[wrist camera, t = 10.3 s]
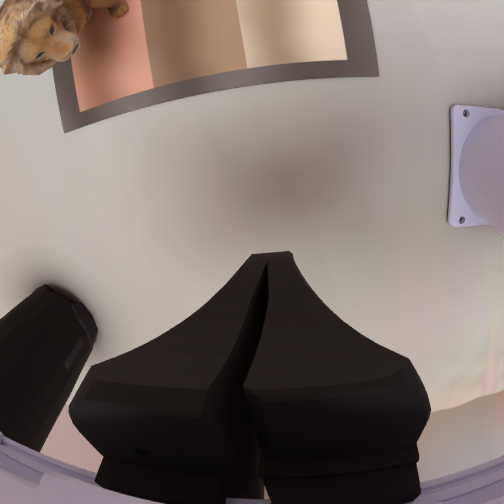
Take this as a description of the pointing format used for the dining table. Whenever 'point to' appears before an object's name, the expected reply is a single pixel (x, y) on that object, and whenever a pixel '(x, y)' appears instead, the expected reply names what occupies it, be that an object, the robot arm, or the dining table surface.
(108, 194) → the dining table surface
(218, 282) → the dining table surface
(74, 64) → the board
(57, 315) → the portable speaker
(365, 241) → the dining table surface
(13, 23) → the lion figurine
